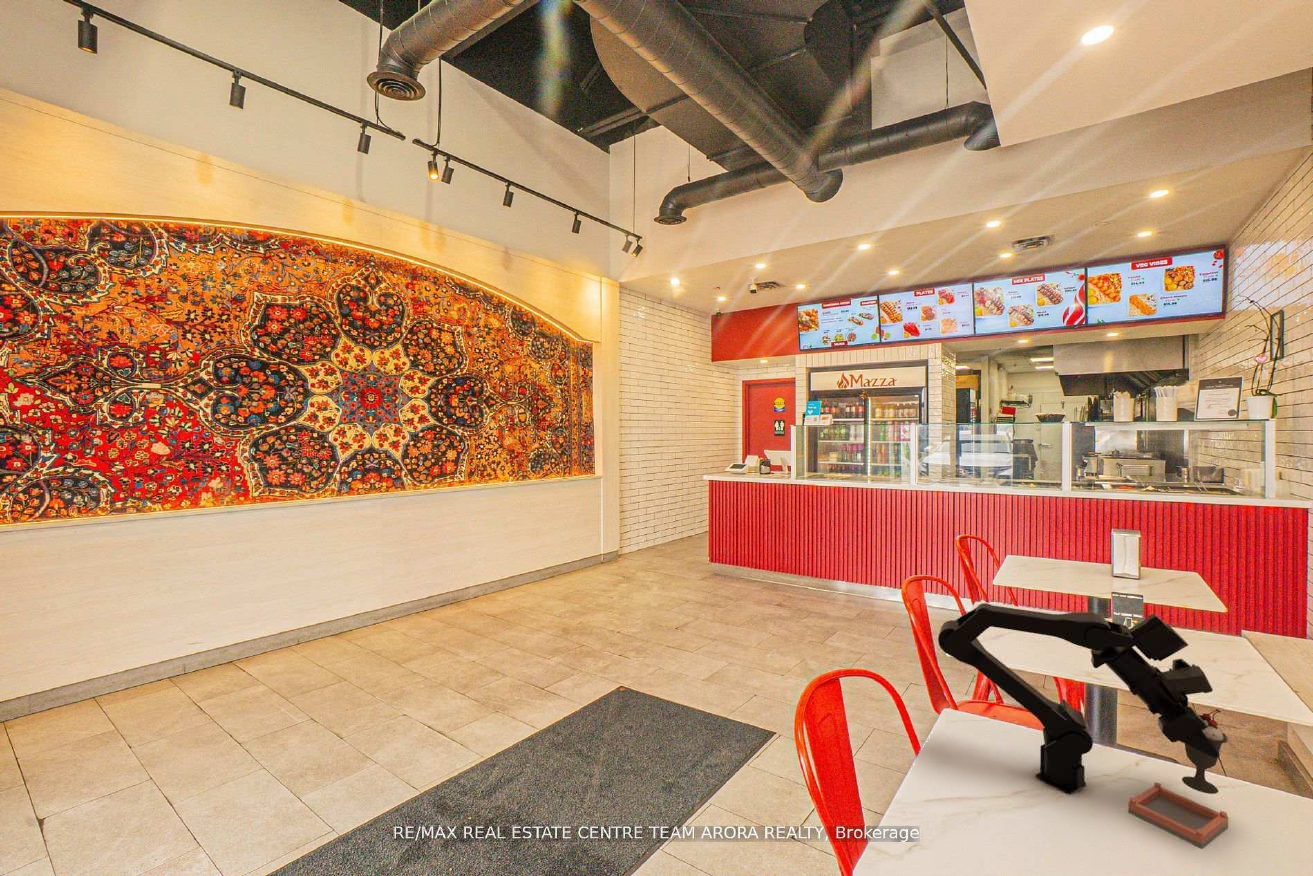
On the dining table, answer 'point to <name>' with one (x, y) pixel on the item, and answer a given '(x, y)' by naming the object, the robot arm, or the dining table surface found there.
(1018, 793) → the dining table surface
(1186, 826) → the baseplate
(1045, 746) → the robot arm
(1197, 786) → the sundae
